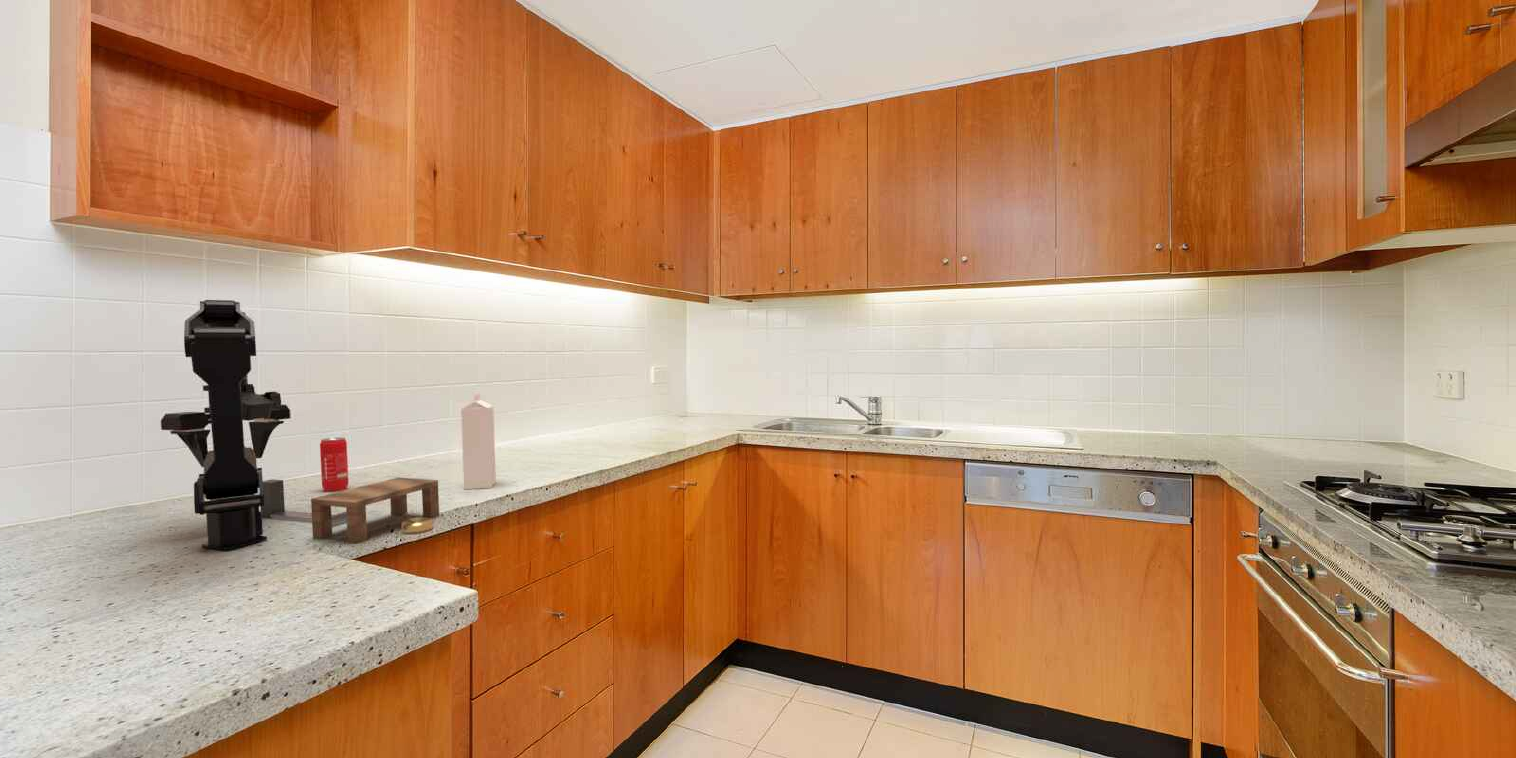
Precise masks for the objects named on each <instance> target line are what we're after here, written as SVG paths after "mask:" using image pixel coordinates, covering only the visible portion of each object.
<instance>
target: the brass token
mask: <svg viewBox="0 0 1516 758" xmlns="http://www.w3.org/2000/svg"><path fill="white" fill-rule="evenodd" d="M433 529H434V520H433V518H427V517H423V516H422V517H419V516H418V517H412V518H407V519H405V520H403V521H402V522H401V533H402V534H403V535H418V534H422V533H427V532H430V531H432V530H433Z"/></svg>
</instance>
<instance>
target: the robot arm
mask: <svg viewBox="0 0 1516 758" xmlns="http://www.w3.org/2000/svg"><path fill="white" fill-rule="evenodd" d="M255 329H256V328H255V321H254V320H252V318H251V317H249V316H248V315H247V314H246V312H245V311H241V303H240V302H239V301H235V300H233V299H232V300H229V299H227V300H225V299H205V300H201V301H199V310H197V311H196V312H194V313H193V314H192V315H191V316H189V317H188V318H187V319H186V320H185V321H184V329H183V330H184V331H183V333H184V334H183V345H184V356H185V357H186V358H191V365H192V371H193V373H194V374H195V375H197V376H198V377H199V378H200V379H201V380H202V381H203V382H204V383H205V384H206V385H204V384H203V385H202V391H203V392H208V393H207V394H208V407H204V408H203V409H204V410H203V411H184V412H183V411H182V412H173V413H172V412H171V413H170V412H169V413H165V414H164V415H163V416H162V418H161V419H160V428H161V429H160V430H161V431H170V432H169V433H170V434H171V435H177V436H178V437H179V439H180V440H181V441H182V442H183V443H184V444H185V446H186V447H187V448H188V449H189V450H190V452H191V453H192V455H193V456H194V458H195V459H196V461H197V462H198V463H199V465H200V467H201V468H203V473H199V474H198V477H197V480H196V481H195V482H194V483H193V502H194V503H193V504H194V505H193V506H194V508H193V509H194V514H196V515H197V514H199V516H201V515H202V516H203V515H206V533H207V542H206V543H202V544H201V548H203V549H211V550H219V551H231V550H234V549H238V548H241V547H245V546H248V545H252V544H256V543H260V542H262V541H266V540H268V536H267V535H263V533H264V532H263V531H264V530H263V529H264V528H263V517H262V512H261V510H260V508H261V507H262V506H264V494H263V481H264V480H263V478H264V477H263V467H257V465H258V464H257V459H262V457H263V455H264V452H265V450H266V447H267V444H268V441H269V439H270V437H271V435H272V434H273V433H272V432H273V431H274V430H275V429H276V428H277V427H278V426H279V425H283V424H284V423H285V420H289V419H291V418H292V417H291V416H292V415H291V409H290V408H289V407H288V405H287V404H282V399H281V398H282V397H281V393H280V392H277V391H274V390H273V391H265V392H264V394H263V393H262V394H260V393H256V391H255V386H254V384H253V383H249V381H248V374H249V373H250V372H251V371H252V360H251V359H252V358H251V357H257V348H256V347H257V344H256V331H255ZM243 421H248V427H249V432H250V437H251V438H250V439H251V444H252V447H251V446H250V447H249V446H248V447H246V446H245V439H244V438H245V437H244V436H245V435H244V423H243ZM208 425H210V426H211V427H210V428H211V429H205V428H206V427H207V426H208ZM210 433H211V436H212V448H213V450H208V437H209V435H210Z"/></svg>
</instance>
